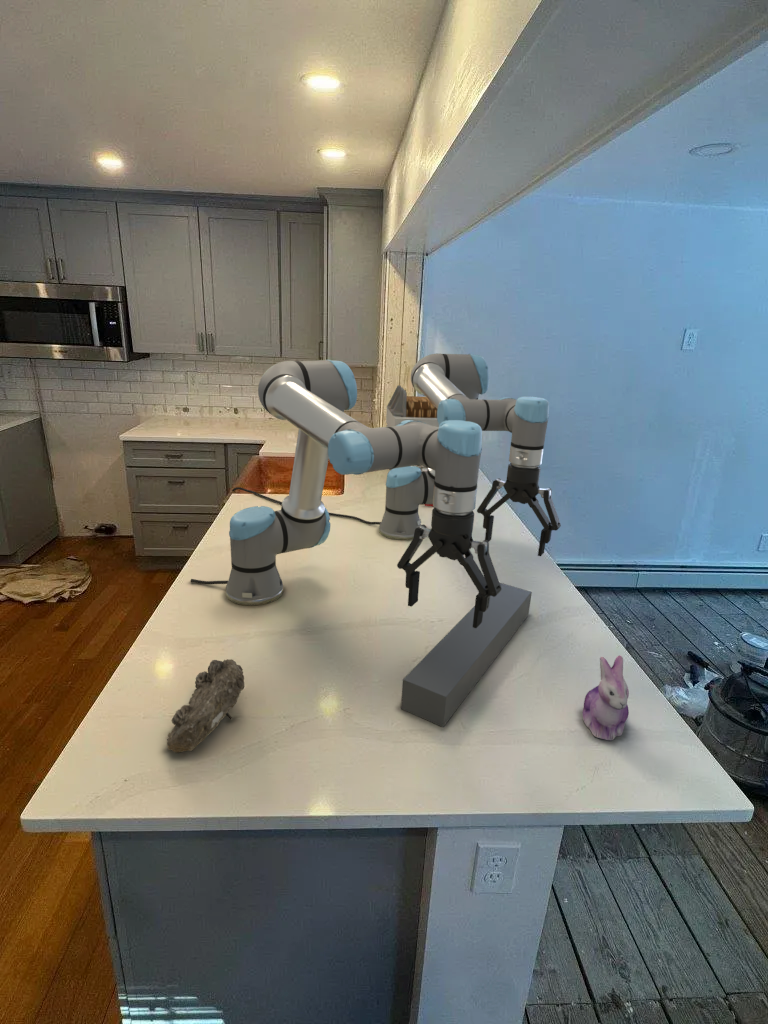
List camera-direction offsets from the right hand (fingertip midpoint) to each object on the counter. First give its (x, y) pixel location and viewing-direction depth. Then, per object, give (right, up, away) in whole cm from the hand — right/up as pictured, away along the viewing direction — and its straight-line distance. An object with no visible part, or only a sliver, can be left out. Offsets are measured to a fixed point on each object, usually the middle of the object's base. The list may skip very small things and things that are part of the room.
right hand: (513, 547), depth 140 cm
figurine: (+11, -33, -30) cm, 46 cm away
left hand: (-21, -11, -32) cm, 40 cm away
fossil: (-65, -30, -32) cm, 78 cm away
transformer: (-15, +28, +135) cm, 138 cm away
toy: (-12, +16, +102) cm, 103 cm away
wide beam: (-11, -24, -9) cm, 28 cm away
